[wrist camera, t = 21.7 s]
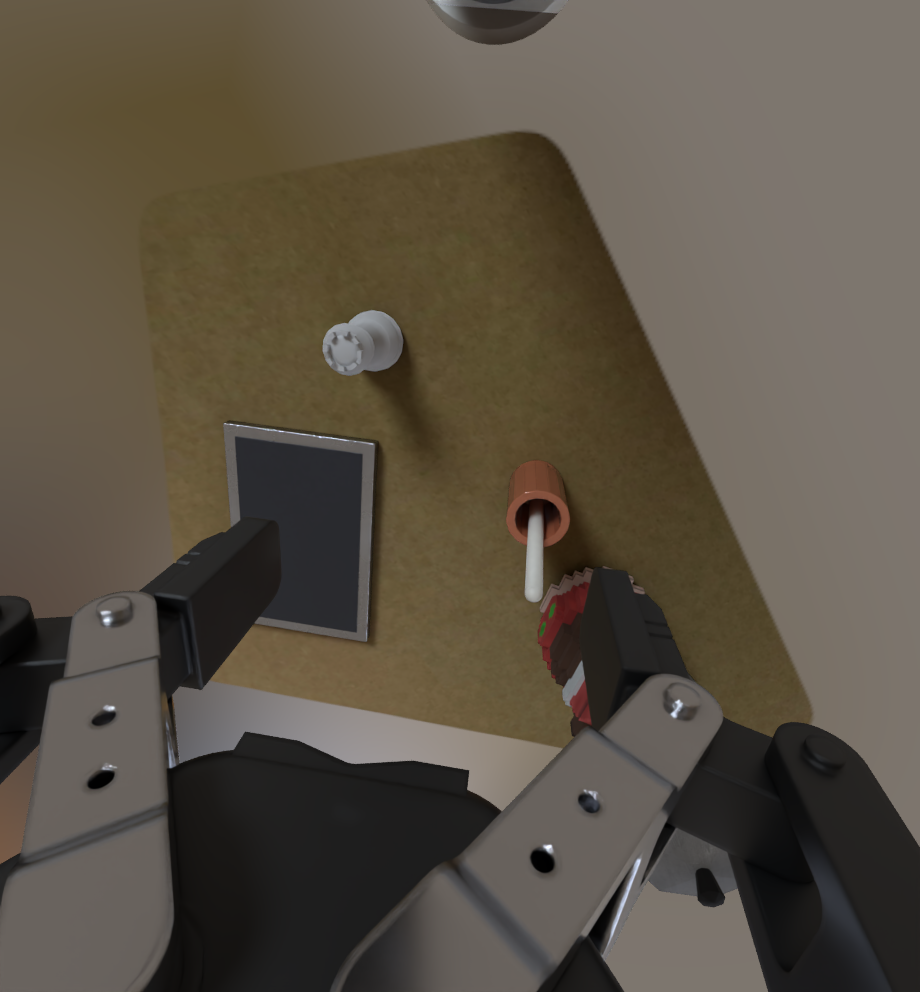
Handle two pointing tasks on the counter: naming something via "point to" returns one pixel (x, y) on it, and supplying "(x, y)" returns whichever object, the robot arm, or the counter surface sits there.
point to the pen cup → (542, 484)
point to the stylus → (535, 551)
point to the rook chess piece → (363, 344)
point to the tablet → (310, 521)
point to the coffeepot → (694, 869)
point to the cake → (568, 641)
